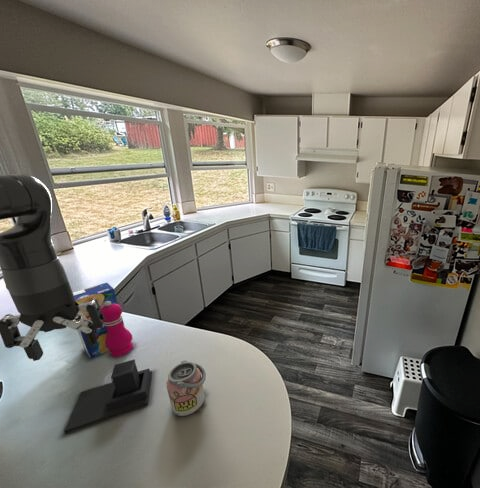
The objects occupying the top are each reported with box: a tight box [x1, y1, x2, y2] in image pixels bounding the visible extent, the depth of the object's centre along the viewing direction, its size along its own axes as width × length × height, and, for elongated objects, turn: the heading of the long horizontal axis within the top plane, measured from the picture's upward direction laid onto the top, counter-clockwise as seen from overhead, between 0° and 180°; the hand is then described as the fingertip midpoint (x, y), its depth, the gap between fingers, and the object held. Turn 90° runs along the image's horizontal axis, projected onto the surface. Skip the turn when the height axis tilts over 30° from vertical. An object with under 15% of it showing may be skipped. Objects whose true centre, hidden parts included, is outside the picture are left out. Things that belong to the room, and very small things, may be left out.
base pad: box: [63, 368, 153, 434], centre depth 70 cm, size 17×12×4 cm
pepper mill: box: [101, 301, 134, 358], centre depth 84 cm, size 7×7×20 cm
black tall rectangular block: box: [110, 359, 141, 397], centre depth 70 cm, size 5×5×9 cm
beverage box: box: [72, 282, 126, 360], centre depth 86 cm, size 7×11×22 cm, turn 144°
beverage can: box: [166, 359, 207, 417], centre depth 68 cm, size 9×8×12 cm
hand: (66, 350), depth 53 cm, fingers open, 8 cm apart
